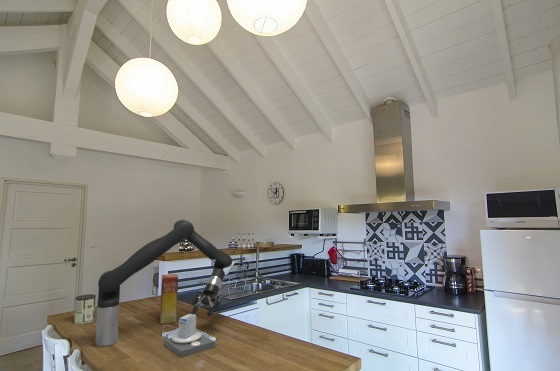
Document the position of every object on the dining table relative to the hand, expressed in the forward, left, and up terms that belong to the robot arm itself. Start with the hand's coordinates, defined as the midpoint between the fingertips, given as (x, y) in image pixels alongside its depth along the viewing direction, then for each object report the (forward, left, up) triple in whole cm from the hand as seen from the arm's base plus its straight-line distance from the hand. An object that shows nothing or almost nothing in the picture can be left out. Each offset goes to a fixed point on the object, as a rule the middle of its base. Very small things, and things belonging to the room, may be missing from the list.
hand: (200, 314), depth 157 cm
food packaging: (-38, -1, -10) cm, 39 cm away
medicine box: (+6, -10, -6) cm, 13 cm away
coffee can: (-70, -38, -10) cm, 80 cm away
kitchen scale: (+8, -10, -10) cm, 17 cm away
